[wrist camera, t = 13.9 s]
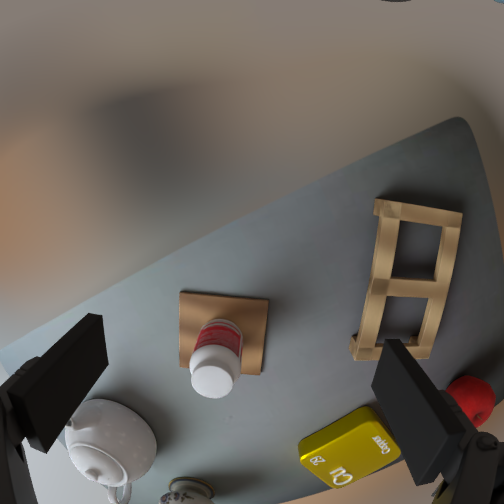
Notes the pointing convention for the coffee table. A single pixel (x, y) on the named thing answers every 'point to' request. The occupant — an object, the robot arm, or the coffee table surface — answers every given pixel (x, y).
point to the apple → (473, 398)
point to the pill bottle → (216, 358)
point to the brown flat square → (229, 308)
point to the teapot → (110, 445)
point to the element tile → (349, 448)
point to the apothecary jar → (188, 492)
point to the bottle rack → (403, 286)
